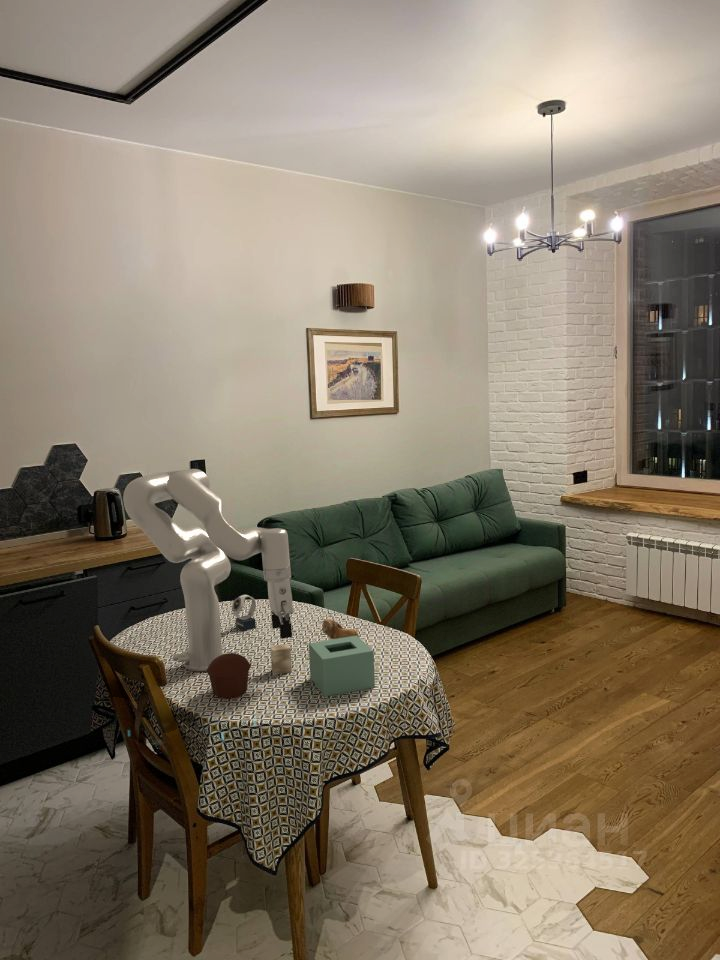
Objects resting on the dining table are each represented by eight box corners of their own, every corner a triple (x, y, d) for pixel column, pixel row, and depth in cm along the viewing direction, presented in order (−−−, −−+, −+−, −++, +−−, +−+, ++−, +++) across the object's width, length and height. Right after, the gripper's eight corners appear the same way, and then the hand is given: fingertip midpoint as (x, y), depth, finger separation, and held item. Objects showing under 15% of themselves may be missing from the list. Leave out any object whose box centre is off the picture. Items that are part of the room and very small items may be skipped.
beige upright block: (274, 674, 202) (273, 650, 201) (271, 670, 206) (270, 646, 205) (291, 671, 204) (290, 648, 203) (288, 667, 207) (287, 644, 206)
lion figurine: (319, 649, 220) (318, 621, 219) (327, 643, 225) (325, 615, 224) (364, 655, 215) (363, 625, 214) (370, 648, 220) (369, 620, 218)
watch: (231, 628, 243) (228, 596, 242) (251, 622, 248) (249, 591, 247) (239, 632, 239) (237, 600, 237) (260, 626, 244) (258, 595, 242)
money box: (324, 696, 187) (322, 659, 186) (310, 678, 199) (308, 643, 198) (374, 687, 192) (373, 650, 190) (358, 669, 204) (356, 635, 202)
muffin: (240, 679, 200) (238, 644, 199) (260, 692, 191) (258, 656, 190) (200, 691, 193) (198, 655, 192) (219, 705, 184) (216, 667, 183)
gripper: (298, 577, 194) (303, 639, 196) (282, 565, 210) (287, 621, 212) (271, 582, 192) (276, 644, 194) (257, 568, 208) (262, 626, 210)
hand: (282, 632), depth 203 cm, fingers open, 9 cm apart
